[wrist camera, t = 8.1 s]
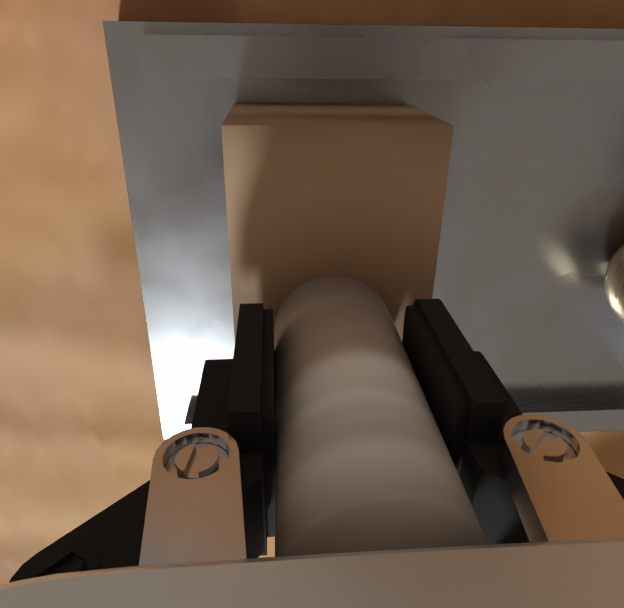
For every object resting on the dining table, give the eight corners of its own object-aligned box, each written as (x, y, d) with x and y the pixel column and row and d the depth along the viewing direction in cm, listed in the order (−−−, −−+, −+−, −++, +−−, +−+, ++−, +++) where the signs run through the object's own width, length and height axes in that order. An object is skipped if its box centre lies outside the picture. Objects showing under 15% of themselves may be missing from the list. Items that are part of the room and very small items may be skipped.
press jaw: (233, 103, 15) (157, 237, 5) (410, 105, 15) (671, 231, 5) (248, 397, 19) (224, 772, 9) (384, 392, 20) (498, 751, 10)
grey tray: (117, 22, 15) (22, 13, 9) (774, 31, 16) (1047, 29, 11) (170, 413, 21) (132, 552, 16) (643, 398, 23) (769, 521, 17)
